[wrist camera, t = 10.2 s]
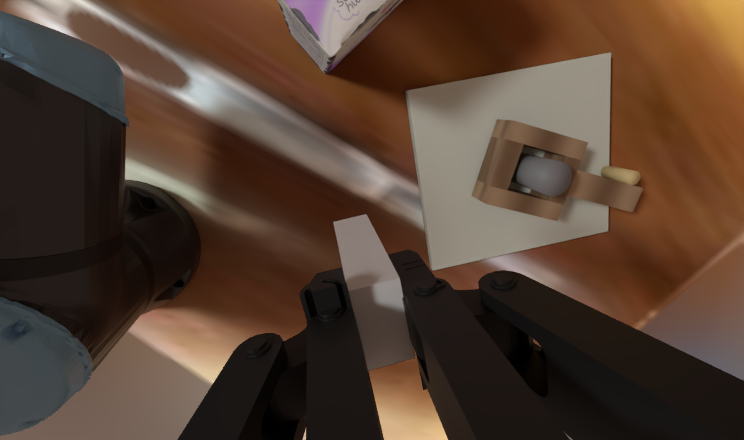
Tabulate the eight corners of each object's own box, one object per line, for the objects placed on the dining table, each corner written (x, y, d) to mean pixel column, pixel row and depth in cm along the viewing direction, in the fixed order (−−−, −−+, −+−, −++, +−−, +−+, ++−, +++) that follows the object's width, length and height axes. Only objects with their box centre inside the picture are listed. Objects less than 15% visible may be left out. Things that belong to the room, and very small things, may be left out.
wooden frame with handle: (471, 195, 46) (485, 203, 42) (496, 119, 44) (514, 120, 40) (598, 226, 50) (621, 236, 46) (628, 157, 47) (655, 162, 44)
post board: (430, 266, 50) (453, 300, 41) (405, 90, 43) (426, 87, 34) (604, 227, 51) (661, 251, 43) (606, 53, 45) (675, 40, 36)
